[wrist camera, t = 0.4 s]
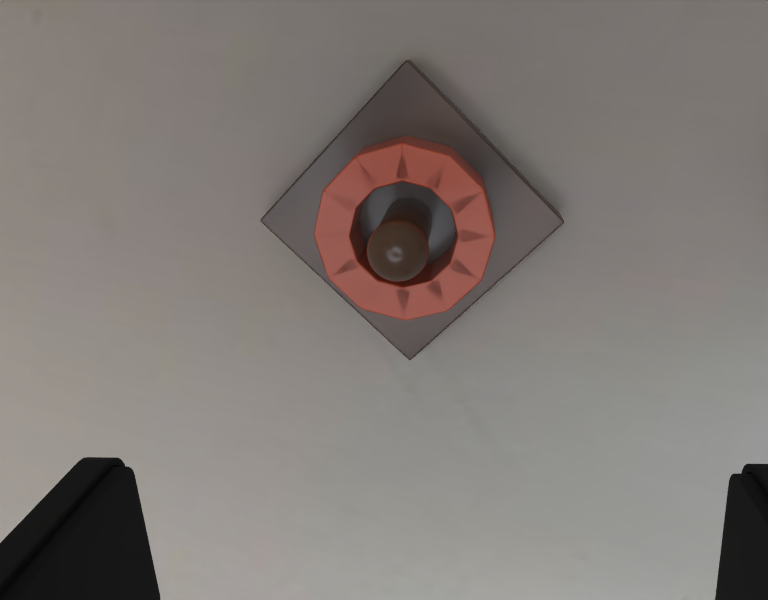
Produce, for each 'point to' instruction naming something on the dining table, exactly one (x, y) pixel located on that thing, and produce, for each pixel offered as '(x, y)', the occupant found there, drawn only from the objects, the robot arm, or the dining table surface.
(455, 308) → the ring holder
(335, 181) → the ring
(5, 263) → the dining table surface
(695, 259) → the dining table surface
